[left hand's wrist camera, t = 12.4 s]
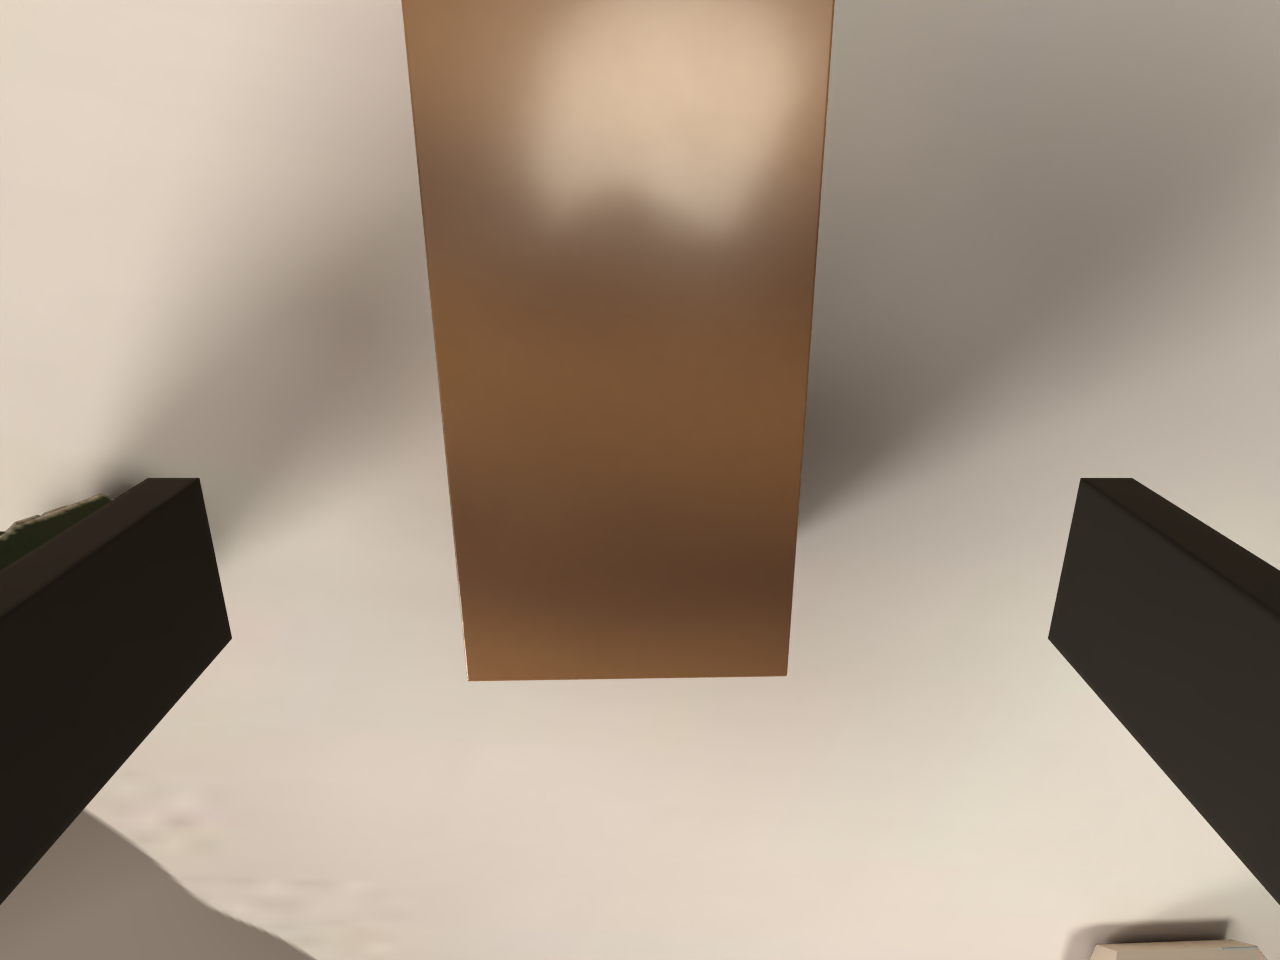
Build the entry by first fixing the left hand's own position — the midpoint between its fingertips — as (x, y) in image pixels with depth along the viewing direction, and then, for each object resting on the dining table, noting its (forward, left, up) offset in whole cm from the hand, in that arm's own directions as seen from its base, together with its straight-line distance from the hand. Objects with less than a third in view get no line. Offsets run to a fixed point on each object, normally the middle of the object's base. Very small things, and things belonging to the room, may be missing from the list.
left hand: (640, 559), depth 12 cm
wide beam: (+15, -16, -15) cm, 26 cm away
